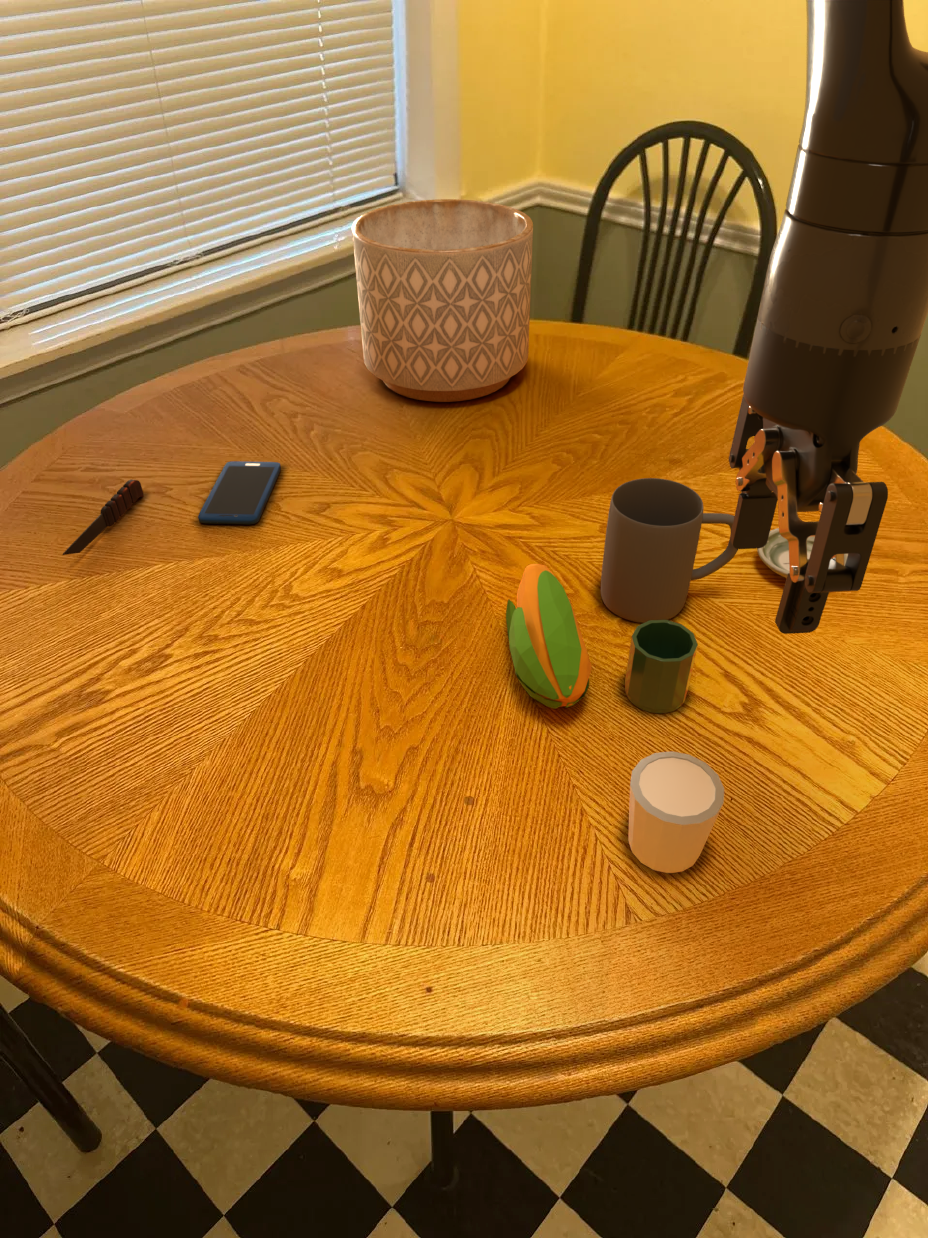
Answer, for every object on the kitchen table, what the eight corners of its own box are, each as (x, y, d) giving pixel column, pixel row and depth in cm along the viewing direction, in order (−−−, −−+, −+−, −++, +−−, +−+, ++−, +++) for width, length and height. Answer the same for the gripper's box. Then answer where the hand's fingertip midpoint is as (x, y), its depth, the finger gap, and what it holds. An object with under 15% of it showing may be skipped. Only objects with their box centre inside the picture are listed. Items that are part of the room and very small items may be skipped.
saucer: (736, 553, 97) (740, 536, 96) (807, 536, 100) (812, 518, 98) (788, 603, 90) (793, 585, 89) (863, 583, 93) (870, 565, 91)
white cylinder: (681, 798, 71) (694, 740, 67) (725, 865, 66) (743, 809, 62) (605, 820, 70) (614, 763, 65) (645, 891, 65) (657, 834, 60)
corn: (523, 667, 72) (497, 533, 87) (514, 730, 77) (491, 592, 92) (610, 666, 73) (569, 533, 88) (596, 728, 78) (559, 591, 93)
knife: (73, 574, 96) (65, 552, 94) (65, 573, 96) (57, 551, 94) (145, 495, 109) (139, 474, 107) (138, 494, 109) (132, 473, 107)
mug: (605, 625, 88) (617, 528, 80) (594, 572, 95) (604, 477, 87) (738, 624, 88) (763, 526, 80) (717, 570, 95) (738, 475, 87)
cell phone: (282, 466, 113) (281, 461, 113) (257, 525, 103) (256, 520, 102) (227, 465, 114) (226, 460, 113) (197, 524, 103) (195, 518, 103)
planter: (547, 400, 128) (555, 242, 113) (377, 418, 124) (363, 258, 109) (504, 335, 147) (507, 193, 132) (356, 349, 143) (342, 205, 128)
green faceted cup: (692, 712, 79) (704, 659, 74) (631, 715, 78) (639, 662, 74) (677, 670, 83) (687, 618, 79) (619, 672, 83) (627, 621, 79)
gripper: (994, 370, 36) (881, 660, 46) (855, 268, 47) (788, 519, 57) (819, 376, 36) (744, 666, 46) (720, 271, 47) (677, 524, 57)
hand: (769, 584), depth 52 cm, fingers open, 8 cm apart
